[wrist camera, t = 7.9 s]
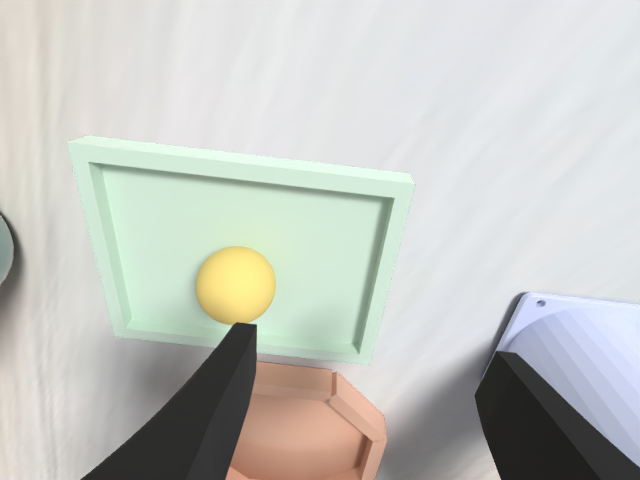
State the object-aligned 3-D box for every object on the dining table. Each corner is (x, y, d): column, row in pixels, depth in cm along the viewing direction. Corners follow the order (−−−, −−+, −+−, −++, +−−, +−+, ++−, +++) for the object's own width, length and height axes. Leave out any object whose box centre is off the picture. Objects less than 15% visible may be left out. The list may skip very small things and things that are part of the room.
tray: (409, 173, 17) (415, 183, 16) (368, 347, 23) (369, 365, 22) (87, 135, 17) (66, 142, 16) (126, 320, 23) (113, 336, 22)
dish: (397, 377, 24) (401, 399, 23) (362, 489, 32) (363, 512, 30) (182, 353, 24) (172, 374, 23) (196, 471, 32) (189, 493, 30)
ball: (285, 239, 19) (273, 283, 15) (277, 297, 21) (265, 348, 17) (210, 226, 19) (181, 268, 15) (209, 286, 21) (183, 335, 17)
